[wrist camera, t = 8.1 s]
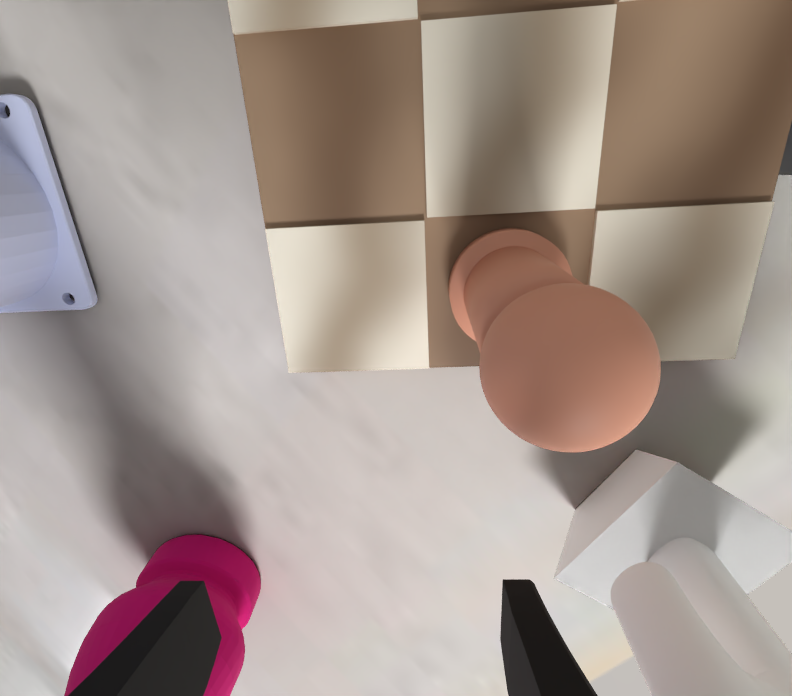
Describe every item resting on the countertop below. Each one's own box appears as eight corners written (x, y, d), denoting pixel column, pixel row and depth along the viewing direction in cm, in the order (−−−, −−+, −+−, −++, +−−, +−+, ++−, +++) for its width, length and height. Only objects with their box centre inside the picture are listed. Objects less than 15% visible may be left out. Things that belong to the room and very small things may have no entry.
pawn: (449, 342, 18) (475, 502, 9) (447, 231, 16) (477, 301, 8) (560, 338, 18) (693, 500, 9) (569, 224, 16) (744, 290, 7)
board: (295, 362, 20) (287, 374, 19) (207, -198, 13) (187, -232, 12) (716, 348, 18) (736, 360, 17) (863, -279, 12) (909, -325, 11)
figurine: (614, 400, 20) (1083, 960, 6) (767, 493, 21) (1434, 1119, 7) (515, 507, 22) (675, 1074, 8) (658, 584, 24) (998, 1176, 10)
